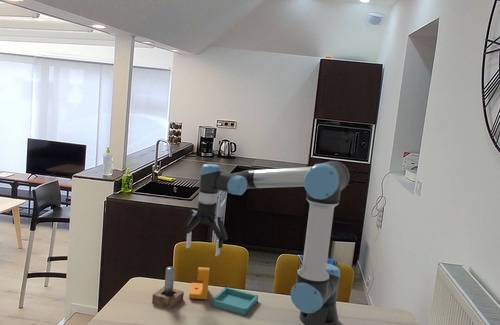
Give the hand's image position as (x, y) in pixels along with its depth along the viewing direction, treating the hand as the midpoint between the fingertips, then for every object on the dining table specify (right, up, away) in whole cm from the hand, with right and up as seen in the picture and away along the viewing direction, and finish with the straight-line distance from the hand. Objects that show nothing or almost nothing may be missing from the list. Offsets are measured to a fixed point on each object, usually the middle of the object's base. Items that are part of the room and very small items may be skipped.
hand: (202, 251), depth 189 cm
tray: (+13, -21, -1) cm, 25 cm away
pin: (-13, -19, -6) cm, 24 cm away
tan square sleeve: (-13, -19, -6) cm, 24 cm away
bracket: (-2, -19, +3) cm, 19 cm away
